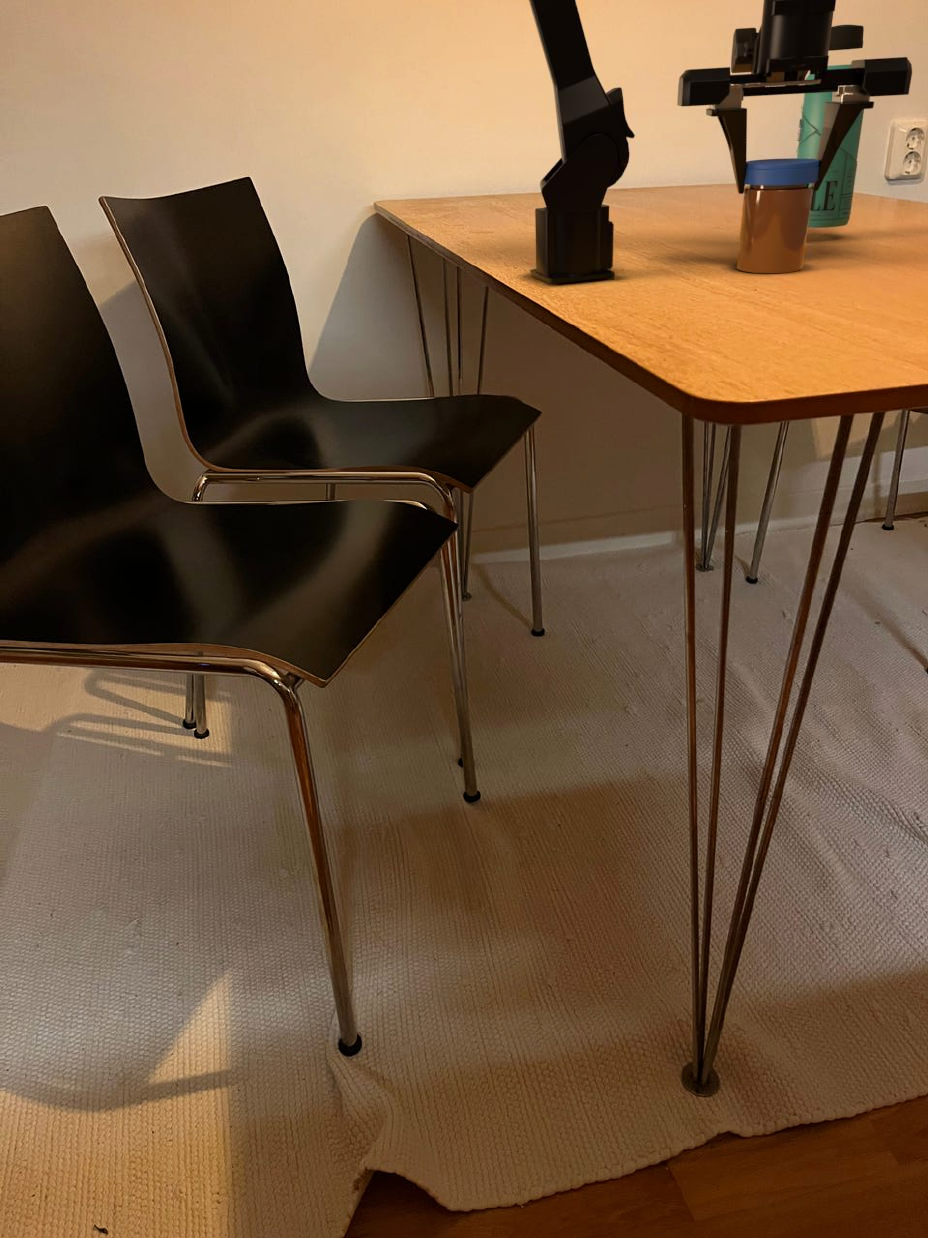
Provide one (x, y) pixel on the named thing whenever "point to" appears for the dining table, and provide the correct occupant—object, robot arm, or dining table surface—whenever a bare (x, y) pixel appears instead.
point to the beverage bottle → (839, 180)
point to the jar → (774, 228)
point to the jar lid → (781, 172)
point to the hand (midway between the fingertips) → (777, 191)
